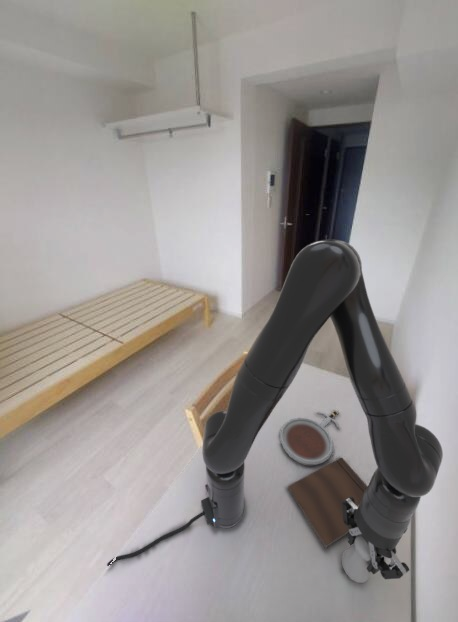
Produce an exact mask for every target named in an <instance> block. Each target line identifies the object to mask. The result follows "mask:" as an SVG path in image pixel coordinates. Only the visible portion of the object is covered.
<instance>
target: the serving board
mask: <svg viewBox="0 0 458 622" xmlns="http://www.w3.org/2000/svg"><path fill="white" fill-rule="evenodd" d="M367 487H368V485H367V484H366V483H365V482H364V481H363V480H362V478H361V477H360V476H359V475H358V474H357V473H356V472H355V470H354V469H353V468H352V467H351V466H350V465H349V463H348V462H347V461H346V460H345V459H344V458H343V457H339V458H338V459H336V460H335V461H333V462H331V463H329V464H327V465H325V466H323V467H322V468H319V469H318V470H315V471H314V472H311V473H310V474H307V476H304V477H303V478H300V479H299V480H297V481H295V482H293V483H292V484H290V485H288V488H287V490H288V492H290V494H291V496H292V497H293V499H294V501H295V502H296V504H297V505H298V507H299V509H300V511H301V512H302V513H303V515H304V517H305V519H306V520H307V522H308V523H309V525H310V526H311V529H313V532H314V533H315V534H316V537H317V538H318V539H319V542H320V543H321V545H322V546H323V547H324V549H326V548H328V547H329V546H331V545H333V544H334V543H335V542H337V541H338V540H340V539H341V538H343V537H344V536H346V535H348V534H349V527H348V525H347V526H346V525H345V524H344V522H343V510H342V501H344V500H346V499H347V498H349V497H351V496H352V497H353V498H354V500H355V505H356V506H357V507H358V505H359V503H360V500H361V498H362V495H363V493H364V491H365V489H366V488H367ZM355 522H356V520H355ZM356 524H357V523H356Z"/></svg>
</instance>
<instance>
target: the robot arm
mask: <svg viewBox="0 0 458 622" xmlns="http://www.w3.org/2000/svg"><path fill="white" fill-rule="evenodd" d="M370 301H371V300H370V299H369V295H368V292H367V287H366V282H365V278H364V274H363V266H362V260H361V256H360V254H359V253H358V251H357V249H355V248H354V246H352V245H351V244H350V243H348V242H346V241H344V240H341V239H336V238H327V239H320V240H316V241H312V242H311V243H309V244H307V245H306V246H304V247H303V248H302V249H300V251H299V252H298V253H297V254H296V256H295V258H294V259H293V261H292V263H291V265H290V268H289V270H288V272H287V275H286V278H285V281H284V283H283V286H282V288H281V291H280V293H279V295H278V298H277V301H276V302H275V306H274V308H273V310H272V312H271V314H270V315H269V318H268V320H267V321H266V322H265V324H264V325H263V327H262V328H261V330H260V331H259V333H258V335H257V337H256V338H255V340H254V342H253V343H252V345H251V347H250V349H249V350H248V352H247V353H246V355H245V357H244V359H243V361H242V363H241V365H240V367H239V368H238V370H237V373H236V376H235V378H234V381H233V384H232V389H231V392H230V396H229V400H228V405H227V409H226V410H219V411H216V412H214V413H212V414H210V416H209V417H208V418H207V419H206V421H205V423H204V426H203V427H204V429H203V438H202V451H201V454H202V459H203V462H204V465H205V474H206V475H205V476H206V484H205V485H204V488H205V498H203V499H201V500H200V505H201V508H202V512H200V513H197V514H196V515H195V516H194V517H192V518H191V519H189V521H188V522H186V524H184V525H182V526H180V527H178V528H176V529H174V530H172V531H170V532H167V533H165V534H164V535H162V536H160V537H157V538H156V539H154V540H153V541H152V542H150V543H148V544H147V545H145V546H143V547H142V548H140V549H138V550H136V551H134V552H130V553H127V554H122V555H118V556H115V557H116V560H115V561H114V562H112V561H113V559H114V558H115V557H113V558H112V559H110V560H109V561H108V562H107V564H106V566H107V567H110V566H111V565H110V563H111V562H112V564H114V563H116V562H118V561H121V560H122V561H123V560H127V559H132V558H134V557H137V556H139V555H141V554H142V553H144V552H146V551H148V550H149V549H150V548H152V547H154V546H155V545H157V544H158V543H160V542H162V541H164V540H165V539H167V538H170V537H172V536H174V535H176V534H178V533H180V532H183V531H184V530H186V529H187V528H188V527H190V526H191V525H192V524H193V523H194V522H195V521H197V520H198V519H200V518H201V517H203V516H204V518H205V520H206V524H207V526H209V525H211V524H213V527H214V529H216V528H223V529H230V528H231V529H232V528H233V527H235V526H237V525H238V524H239V523H240V522H241V520H242V518H243V516H244V512H245V469H246V468H245V467H246V465H245V464H246V463H245V461H246V459H247V457H248V455H249V453H250V451H251V449H252V447H253V445H254V442H255V440H256V438H257V436H258V434H259V433H260V431H261V429H263V426H264V425H265V423H266V422H267V420H268V419H269V417H270V416H271V414H272V413H273V411H274V409H275V407H276V406H277V405H278V404H279V402H280V401H281V399H282V398H283V396H285V393H286V392H287V391H288V389H289V388H290V386H291V385H292V383H293V381H294V380H295V378H296V376H297V375H298V373H299V371H300V369H301V366H302V364H303V362H304V360H305V357H306V355H307V352H308V349H309V348H310V345H311V343H312V342H313V340H314V338H315V337H316V335H317V334H318V333H319V332H320V330H321V329H322V327H323V326H324V325H325V323H326V322H327V321H328V320H329V319H331V322H332V325H333V327H334V329H335V333H336V335H337V338H338V341H339V345H340V348H341V352H342V355H343V360H344V364H345V368H346V372H347V375H348V378H349V381H350V383H351V386H352V389H353V391H354V393H355V395H356V398H357V400H358V402H359V404H360V407H361V409H362V411H363V413H364V415H365V417H366V420H367V428H368V429H367V430H368V434H369V439H370V444H371V450H372V455H373V458H374V460H375V463H376V466H377V467H376V469H375V470H374V472H373V474H372V476H371V478H370V480H369V483H368V485H367V488H366V489H365V491H364V493H363V495H362V498H361V500H360V503H359V505H358V507H357V506H356V505H355V500H354V498H353V497H352V496H351V497H349V498H347V499H346V500H344V501H342V510H343V522H344V524H345V525H346V526H347V525H348V527H349V532H348V533H347V539H348V540H347V543H348V544H349V545H350V546H349V547H351V546H353V545H354V541H355V538H356V536H357V535H361V536H362V537H363V538H364V540H365V541H366V542H367V544H368V545H369V547H370V556H371V558H372V561H370V563H369V565H368V567H367V568H366V569H367V570H368V572H369V573H370V574H371V573H372V575H376V574H377V573H378V572H379V571H380V572H379V573H380V576H381V577H382V578H383V579H384V580H396V579H397V580H398V579H401V578H403V576H404V575H406V574H407V573H408V572H409V571H410V567H409V565H407V563H406V562H403V561H402V562H401V560H400V559H399V557H398V556H397V545H398V544H399V543H400V540H401V539H402V537H403V536H404V534H406V532H407V531H408V530H409V529H408V528H409V526H410V523H411V520H412V517H413V515H414V514H415V511H416V510H417V509H418V507H419V504H420V501H421V498H422V497H424V496H426V495H428V494H429V493H430V492H431V491H432V489H433V488H434V485H435V483H436V481H437V480H436V479H437V476H438V473H439V470H440V467H441V465H442V461H443V456H444V453H443V448H442V445H441V443H440V440H439V439H438V438H437V436H436V435H435V434H434V433H433V432H432V431H430V429H428V428H426V427H425V426H422V425H420V424H417V417H418V415H417V409H416V408H417V407H416V405H415V403H414V400H413V397H412V396H411V393H410V391H409V388H408V386H407V384H406V382H405V380H404V377H403V375H402V373H401V371H400V369H399V366H398V364H397V362H396V360H395V358H394V356H393V354H392V352H391V350H390V348H389V346H388V344H387V342H386V340H385V337H384V335H383V333H382V331H381V328H380V327H379V324H378V321H377V318H376V316H375V313H374V311H373V308H372V305H371V302H370ZM355 520H356V522H355ZM356 523H357V524H356ZM387 559H390V562H389V564H388V563H387ZM109 565H110V566H109Z"/></svg>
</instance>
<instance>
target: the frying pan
mask: <svg viewBox="0 0 458 622" xmlns="http://www.w3.org/2000/svg"><path fill="white" fill-rule="evenodd" d="M339 412H340V411H339V410H338V409H334V410H333V412H332V413H331V414H329V415H328V414H326V413H324V412H321V411H317V414H318V415H322V416H324V417H325V418H324V419H323V420H322V421H321V422H318V421H316V420H313V419H311V418H308V417H295V418H291V419H290V420H288V421H286V422H285V423H284V424H283V425H282V426H281V429H280V432H279V440H280V443H281V445H282V448H283V450H284V451H285V453H286V454H287V455H288V456H289V457H290V458H291V459H292V460H294V461H295V462H297V463H299V464H302V465H304V466H312V467H313V466H318V465H321V464H323V463H324V462H326V461H327V460H329V459H330V458H331V455H332V454H333V453H334V452H333V451H334V442H333V439H332V436H331V435H330V433H329V432H328V430H327V429H326V426H327V425H328V424H329V423H330V422H332V423H334V424H335V426H336V428H337V429H338V428H339V424H338V423H337V421H336V420H335V419H333V418H334V417H335V416H336V415H338V414H339Z"/></svg>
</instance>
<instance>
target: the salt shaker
mask: <svg viewBox="0 0 458 622" xmlns="http://www.w3.org/2000/svg"><path fill="white" fill-rule="evenodd" d="M370 561H372V558H371V556H370V547H369V545H368V544H367V542H366V541H365V540H364V538H363V537H362V536H361V535H357V536H356V538H355V541H354V544H353V545H351V546H349V547H348V548H347V549H345V550H344V551H343V553H342V556H341V563H342V565H341V566H342V568H343V570H344V572H345V575H347V576H348V578H349V579H350V580H352V581H353V582H355V583H358V584H360V583H366V582H367V580H369V579H370V574H371V572H370V573H369V572H368V570H367V569H366V568H367V567H368V565H369V563H370Z"/></svg>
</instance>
